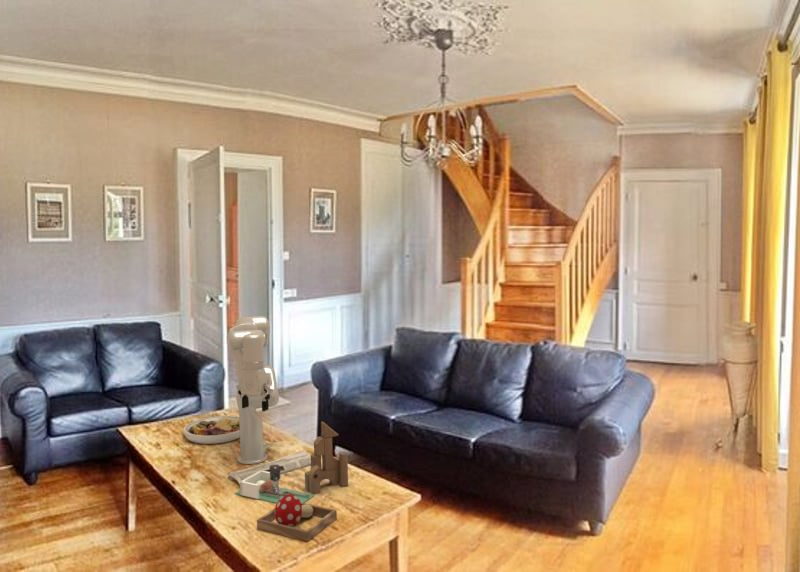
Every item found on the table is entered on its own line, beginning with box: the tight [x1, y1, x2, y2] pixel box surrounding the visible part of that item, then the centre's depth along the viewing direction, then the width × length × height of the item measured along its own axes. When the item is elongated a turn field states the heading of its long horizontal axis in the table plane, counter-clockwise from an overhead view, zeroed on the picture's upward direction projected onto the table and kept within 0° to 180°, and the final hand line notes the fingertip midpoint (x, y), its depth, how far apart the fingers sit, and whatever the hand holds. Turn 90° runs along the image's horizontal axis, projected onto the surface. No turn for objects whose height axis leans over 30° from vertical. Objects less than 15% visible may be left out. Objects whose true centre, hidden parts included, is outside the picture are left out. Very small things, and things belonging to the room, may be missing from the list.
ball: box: [256, 480, 265, 491], centre depth 235 cm, size 4×4×4 cm
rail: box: [261, 489, 312, 503], centre depth 230 cm, size 6×18×1 cm, turn 64°
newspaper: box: [227, 449, 312, 486], centre depth 256 cm, size 35×12×4 cm, turn 130°
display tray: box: [256, 502, 337, 542], centre depth 209 cm, size 17×20×3 cm
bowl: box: [183, 415, 240, 445], centre depth 300 cm, size 30×30×8 cm
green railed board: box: [234, 486, 316, 504], centre depth 232 cm, size 11×28×1 cm, turn 64°
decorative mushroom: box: [274, 494, 313, 528], centre depth 210 cm, size 11×11×15 cm
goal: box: [239, 470, 270, 500], centre depth 235 cm, size 12×8×5 cm, turn 154°
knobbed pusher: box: [260, 465, 286, 496], centre depth 232 cm, size 6×8×10 cm
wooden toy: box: [304, 421, 349, 495], centre depth 237 cm, size 15×7×25 cm, turn 120°
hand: (255, 408), depth 244 cm, fingers open, 9 cm apart
